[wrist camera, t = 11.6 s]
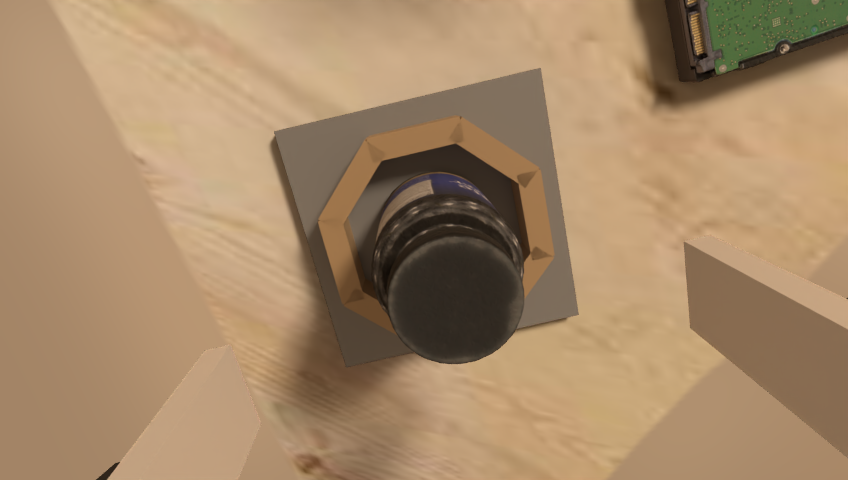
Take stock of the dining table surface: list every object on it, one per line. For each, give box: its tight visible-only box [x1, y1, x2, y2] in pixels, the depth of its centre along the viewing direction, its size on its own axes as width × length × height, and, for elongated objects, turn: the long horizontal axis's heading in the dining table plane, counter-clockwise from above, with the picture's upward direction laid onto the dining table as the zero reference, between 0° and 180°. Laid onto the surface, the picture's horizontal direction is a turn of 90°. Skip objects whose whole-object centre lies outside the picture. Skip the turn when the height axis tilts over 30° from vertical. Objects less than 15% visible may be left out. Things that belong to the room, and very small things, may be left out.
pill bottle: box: [371, 171, 525, 364], centre depth 22 cm, size 6×6×11 cm
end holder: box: [274, 68, 579, 367], centre depth 27 cm, size 14×14×3 cm
